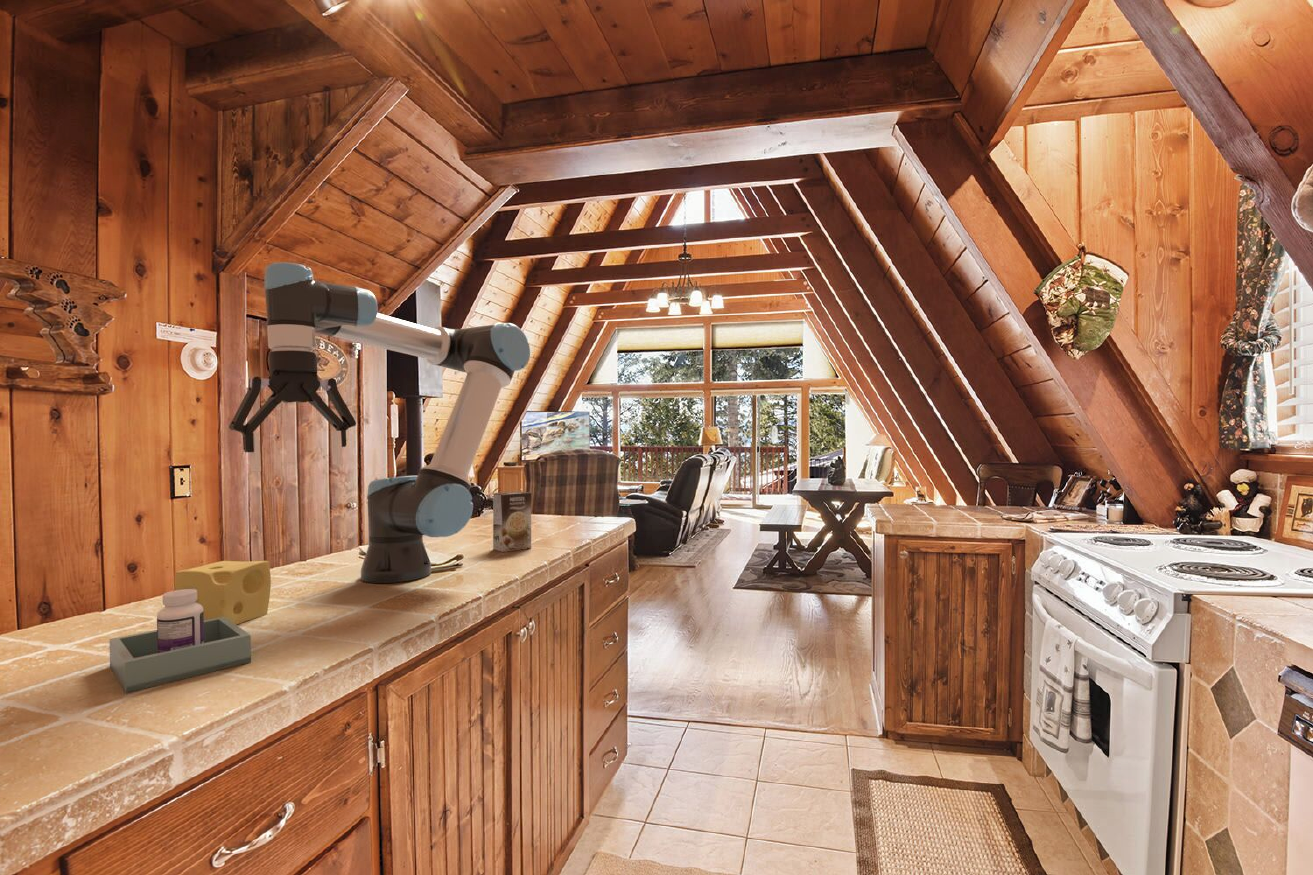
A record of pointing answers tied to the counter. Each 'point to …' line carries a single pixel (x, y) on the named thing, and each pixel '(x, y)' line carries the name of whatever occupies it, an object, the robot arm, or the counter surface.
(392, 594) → the counter surface
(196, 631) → the pill bottle
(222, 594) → the cheese
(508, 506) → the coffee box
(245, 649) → the tray
